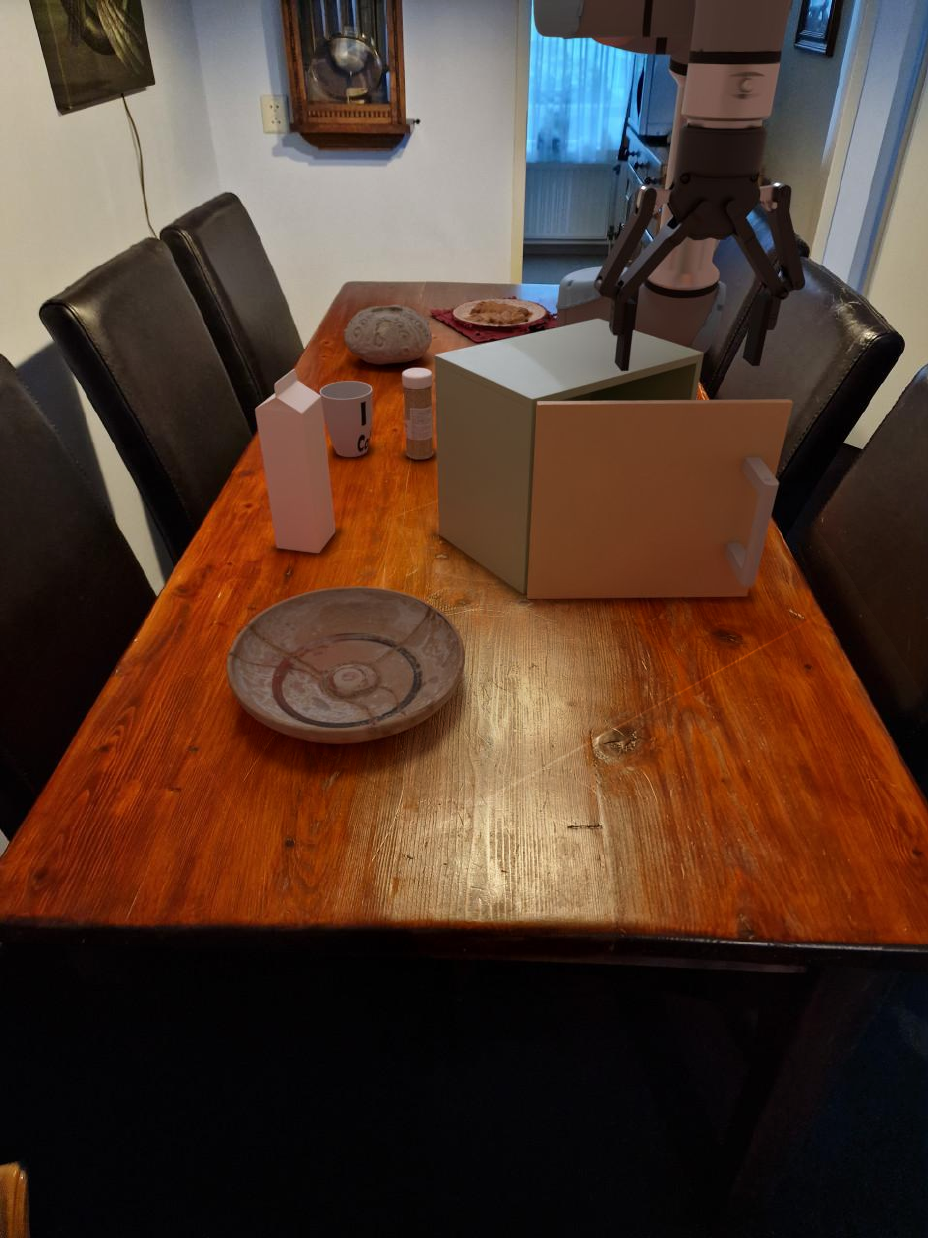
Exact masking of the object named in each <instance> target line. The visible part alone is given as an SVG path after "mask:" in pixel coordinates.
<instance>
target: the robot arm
mask: <svg viewBox="0 0 928 1238" xmlns="http://www.w3.org/2000/svg"><path fill="white" fill-rule="evenodd" d="M792 2H793V1H792V0H532V7H533V9H532V10H533V13H532V14H533V22H534V27H535V30H536V32H537V33H538V34H539V35H540V36H541V37H545V38H561V39H563V40H573V39H592V40H593V41H595V42H596V43H598V44H600V45H602V46H607V47H611V48H614V49H618V50H621V51H625V52H630V53H633V54H639V55H640V54H641V55H656V56H662V55H663V56H669V64H668V72H669V74H670V75H671V76H672V78H673V79H674V81H675V82H676V84H677V92H676V101H675V107H674V115H673V124H672V131H671V140H670V146H669V155H668V162H667V169H666V170H667V172H666V179H665V187H664V188H662V187H661V188H660V187H652V186H650V185H649V184H647V183H641V184H640V185H638V186H637V189H636V193H635V196H634V197H635V198H634V203H633V207H632V211H631V213H630V215H629V217H628V219H627V220H626V222H625V225H624V226H623V227H622V229H621V231H620V233H619V234H618V236H617V239H616V241H615V242H614V244H613V246H612V248H611V249H610V251H609V254H608V255H607V257H606V259H605V261H604V263H603V265H601V266H592V267H586V268H582V269H578V270H575V271H571V272H570V273H568V274H566V275H565V276H563V278H562V279H561V281H560V282H559V284H558V285H559V286H558V293H557V300H556V301H557V302H556V304H555V308H556V313H557V316H556V317H557V321H556V327H555V328H558V327H562V326H567V325H571V324H576V323H580V322H585V321H589V320H594V319H601V320H604V321H607V322H609V328H610V332H611V333H612V334H613V335H614V336H617V344H616V354H615V364H616V365H617V366H618V368H619V369H620V370H621V371H628V370H629V362H630V353H631V344H632V336H633V330H635V331H638V332H641V333H644V334H647V335H650V336H653V337H656V338H659V339H663V340H666V341H669V342H672V343H675V344H678V345H681V346H684V347H687V348H690V349H693V350H697V351H700V352H703V353H704V354H706V353H707V352H708V351H709V349H710V348H711V346H712V344H713V342H714V340H715V338H716V335H717V332H718V329H719V325H720V323H721V319H722V315H723V309H724V305H725V302H726V295H727V285H726V283H724V282H722V281H721V280H720V270H719V269H718V267H717V266H716V265H715V264H714V263H713V259H714V252H715V248H716V242H717V241H716V240H718V241H726V240H727V238H729V237H730V236H731V237H732V238H733V239H734V241H735V242H736V244H737V246H738V247H739V249H740V251H741V252H742V254H743V256H744V257H745V259H746V260H747V263H748V264H749V266H750V268H751V269H752V271H753V272H754V274H755V276H756V277H757V279H758V281H759V282H760V285H761V286H762V288H763V289H764V290H765V291H764V292H762V291H760V292H758V291H757V292H756V291H755V293H754V299H753V303H752V308H751V313H750V318H749V322H748V328H747V333H746V339H745V343H744V349H743V354H742V359H743V360H745V361H746V362H747V363H748V364H749V365H750V366H751V367H760V365H761V360H762V356H763V353H764V347H765V342H766V338H767V337H766V336H767V334H768V333H767V332H768V331H774V329H775V328H776V326H777V323H778V318H779V314H780V310H781V304H782V301H784V300H786V299H787V298H789V295H790V293H792V292H793V291H801V290H803V289H804V288H805V286H806V278H805V274H804V268H803V265H802V260H801V256H800V251H799V248H798V247H799V246H798V243H797V240H796V234H795V230H794V226H793V221H792V217H791V212H790V211H791V210H790V209H791V208H790V207H791V199H792V187H791V186H790V185H788V184H786V183H783V182H780V181H779V180H773V181H772V182H770V183H769V185H762V186H760V184H759V177H760V173H761V170H762V166H763V160H764V154H765V151H766V145H767V139H768V133H769V131H768V130H767V126H765V125H763V120H768V118H769V117H771V115H772V111H773V105H774V99H775V94H776V90H777V84H778V79H779V72H780V69H781V68H780V67H781V63H780V62H781V60H782V54H783V47H784V40H785V35H786V30H787V25H788V21H789V16H790V11H791V7H792V6H791V5H792ZM759 202H760V204H761V208H762V209H763V210H765V211H766V217H767V222H768V225H769V229H770V234H771V237H772V242H773V246H774V250H775V253H776V257H777V258H776V259H777V262H778V265H779V270H780V274H781V276H779V274H778V271H777V270H776V269H775V267H774V265H773V263H772V261H771V260H770V258H769V256H768V255H767V253H766V251H765V250H764V248H763V246H762V244H761V243H760V241H759V239H758V237H757V234H756V232H755V230H754V228H753V226H752V225H751V223H750V221H749V219H748V218H747V217H749V215H750V214H751V212H753V210H754V209H755V207H756V206H757V205H758V204H759ZM661 208H662V210H661ZM660 210H661V219H660V227H659V232H658V233H657V234H656V236H655V237H653V239H652V240H651V241H650V242H649V244H648V245H647V246H646V247H645V248H644V250H643V251H642V252H641V253H640V254H639V255H638V257H636V259H635V260H634V261H633V262H632V263H631V265H630V266H629V267H626V266H627V264H628V263H629V261H630V259H631V257H632V256H633V254H634V252H635V250H636V249H637V247H638V245H639V243H640V242H641V239H642V238H643V236H644V234H645V232H646V230H647V229H648V227H649V225H650V223H651V220H652V218H653V215H657V214H658V213H659V212H660Z"/></svg>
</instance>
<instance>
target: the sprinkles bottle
mask: <svg viewBox="0 0 928 1238" xmlns="http://www.w3.org/2000/svg"><path fill="white" fill-rule="evenodd" d="M433 379H434V378H433V372H432V371H431V370H430V369H428V368H424V367H411V368H407V369H405V370H403V371H402V373H401V383H402V386H403V400H404V408H403V409H404V413H403V414H404V430H405V432H404V434H405V449H406V450H405V455H406V457H407V458H409V459H411V460H417V461H418V460H419V461H420V460H422V461H423V460H427V459H431V458H432V457H433V456H434V454H435V452H434V451H435V450H434V442H433V441H434V440H433V438H434V419H433V418H434V416H433V394H432V393H433V392H432V391H433V389H432V388H433V383H434V380H433Z"/></svg>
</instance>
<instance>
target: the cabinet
mask: <svg viewBox="0 0 928 1238" xmlns="http://www.w3.org/2000/svg"><path fill="white" fill-rule="evenodd" d="M616 344H617V336H614V335H613V334H612V333H611V332H610V328H609V322H607V321H604V320H601V319H594V320H589V321H585V322H580V323H576V324H571V325H567V326H562V327H558V328H556V327H553V328H550V329H545V330H540V331H536V332H531V333H526V334H523V335H516V336H512V337H507V338H503V339H498V340H495V341H491V342H490V341H489V342H486V343H481V344H477V345H472V346H469V347H464V348H458V349H455V350H450V351H445V352H442V353H436V354H434V385H435V386H434V388H435V390H434V391H435V394H434V395H435V434H436V437H435V438H436V473H437V478H436V479H437V516H438V519H437V520H438V535H439V536H440V537H442V538H443V539H444V540H446V541H448V542H449V543H450V544H452V545H453V546H455V547H456V548H457V549H459V550H460V551H462V552H463V553H464V554H466V555H467V556H469V557H470V558H471V559H473V560H474V561H476V562H477V563H478V564H480V565H481V566H482V567H484V568H485V569H487V570H488V571H490V572H491V573H492V574H494V575H495V576H497V577H498V578H499V579H501V580H502V581H504V582H505V583H506V584H508V585H509V586H511V587H512V588H513V589H515V590H516V591H517V592H519V593H520V594H522V595H525V594H527V584H528V564H529V544H530V525H531V505H532V485H533V465H534V445H535V426H536V406H537V401H638V400H697V397H698V390H699V385H700V379H701V372H702V366H703V361H704V355H705V353H703V352H700V351H697V350H693V349H690V348H687V347H684V346H681V345H678V344H675V343H672V342H669V341H666V340H663V339H659V338H656V337H653V336H650V335H647V334H644V333H641V332H638V331H635V330H633V336H632V344H631V353H630V362H629V370H628V371H621V370H620V369H619V368H618V366H617V365H616V364H615V354H616Z"/></svg>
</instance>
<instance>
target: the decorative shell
mask: <svg viewBox="0 0 928 1238" xmlns="http://www.w3.org/2000/svg"><path fill="white" fill-rule="evenodd" d="M343 335H344V343H345V346H346V347H347V350H348V351H349V352H350V354H352V355H356V356H357V357H358V358H360V359H361V360H363V361H365V362H366V363H369V364H375V365H381V366H382V365H385V364H386V365H387V364H388V365H389V364H392V365H393V364H401V363H409V362H413V361H415V360H418V359H419V358H421V357H422V356H423V355H425V354H426V353H427V352H428V350H429V349H430V347H431V344H432V343H433V342H432V341H433V336H432V335H433V334H432V331H431V327H430V322H429V321H427V320H426V319H425V317H423V315H422V314H420V313H419V312H417V311H416V310H414V309H411V308H409V307H408V305H405V306H404V305H400V304H391V305H375V306H370V307H367V308H365V309H359V312H357V313H356V314H355V315H354V316H353V317H352V318H351V319H350V320H349V322H348V324H347V326H346V328H345V329H344V330H343Z"/></svg>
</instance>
